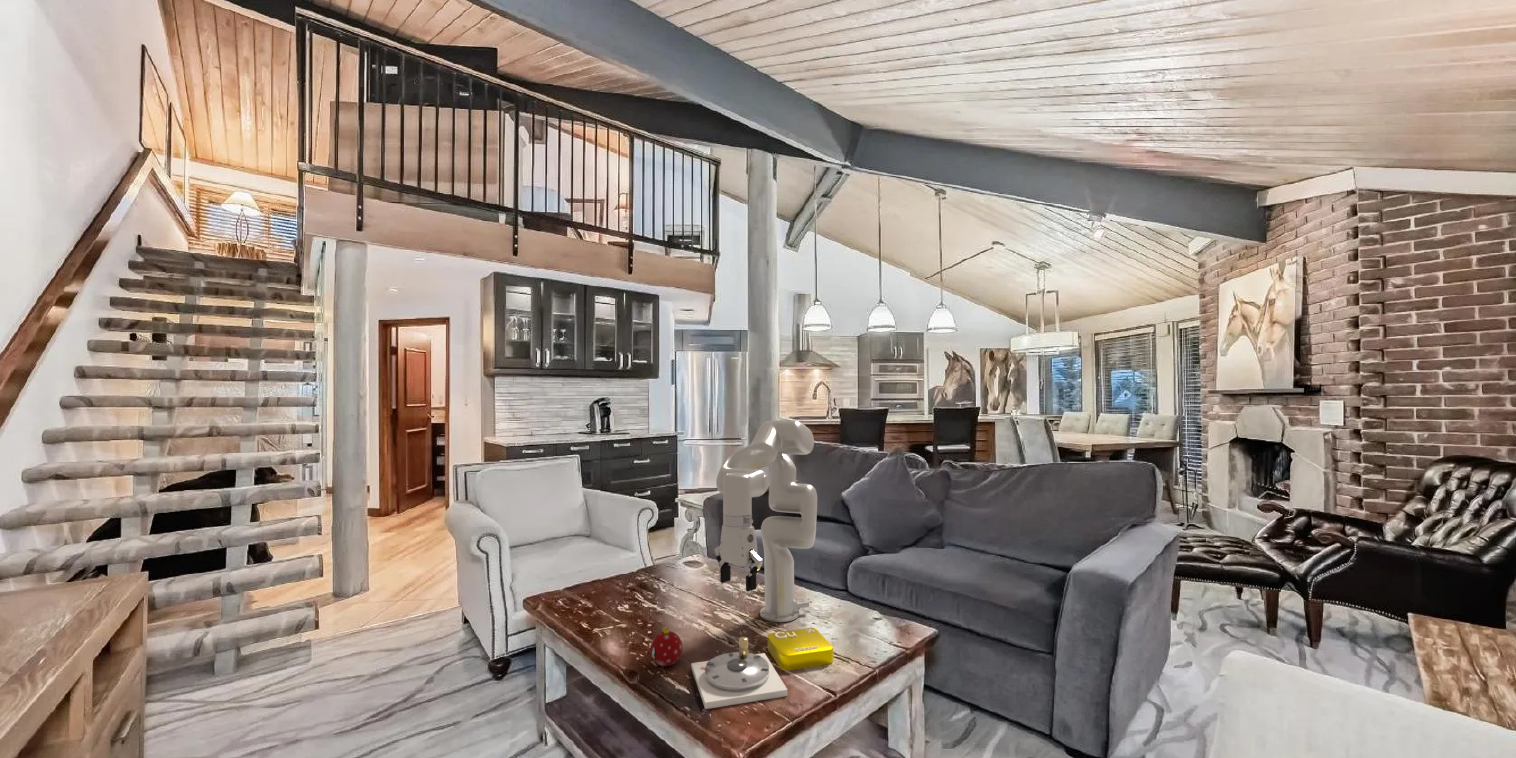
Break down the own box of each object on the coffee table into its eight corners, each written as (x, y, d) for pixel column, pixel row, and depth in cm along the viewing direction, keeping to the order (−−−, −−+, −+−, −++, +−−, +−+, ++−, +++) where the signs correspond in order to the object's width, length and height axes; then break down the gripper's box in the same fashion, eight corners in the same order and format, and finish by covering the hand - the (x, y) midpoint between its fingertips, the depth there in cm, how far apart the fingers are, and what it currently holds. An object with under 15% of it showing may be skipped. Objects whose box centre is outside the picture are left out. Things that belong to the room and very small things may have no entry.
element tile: (782, 673, 155) (782, 654, 155) (765, 648, 170) (765, 631, 170) (836, 664, 160) (835, 646, 160) (815, 641, 174) (814, 624, 174)
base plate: (764, 658, 162) (764, 652, 162) (787, 695, 143) (787, 688, 143) (691, 668, 157) (691, 662, 157) (705, 709, 138) (705, 701, 138)
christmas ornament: (689, 664, 160) (688, 627, 160) (662, 675, 154) (661, 636, 154) (670, 653, 166) (670, 618, 166) (644, 664, 160) (643, 627, 160)
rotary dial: (760, 694, 140) (759, 667, 140) (696, 686, 144) (695, 659, 144) (775, 663, 156) (775, 638, 156) (717, 656, 160) (716, 632, 160)
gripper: (771, 523, 153) (771, 590, 153) (726, 513, 166) (726, 575, 165) (750, 528, 148) (751, 597, 148) (705, 517, 160) (705, 581, 160)
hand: (738, 585), depth 157 cm, fingers open, 9 cm apart
